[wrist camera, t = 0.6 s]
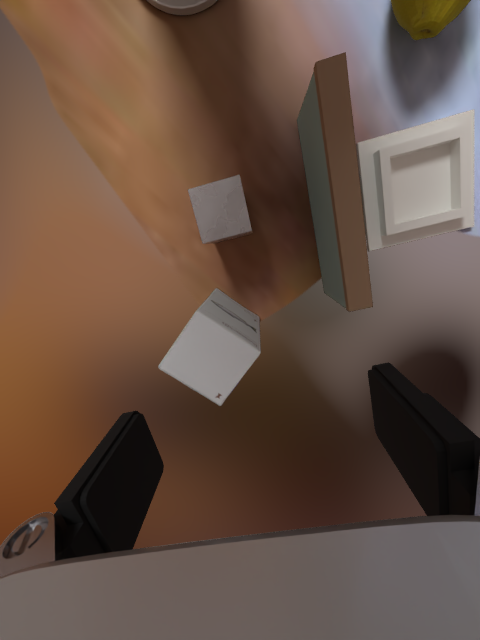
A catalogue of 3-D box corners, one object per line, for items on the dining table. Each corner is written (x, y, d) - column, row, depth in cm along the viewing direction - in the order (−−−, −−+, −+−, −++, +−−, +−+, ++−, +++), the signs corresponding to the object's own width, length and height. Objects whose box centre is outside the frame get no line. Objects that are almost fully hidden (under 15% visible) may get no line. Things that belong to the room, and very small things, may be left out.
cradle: (356, 144, 29) (363, 137, 27) (470, 111, 28) (486, 101, 26) (367, 251, 32) (374, 251, 31) (470, 226, 31) (484, 225, 29)
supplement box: (261, 316, 36) (264, 354, 24) (231, 356, 38) (220, 410, 26) (216, 285, 35) (196, 308, 23) (188, 328, 37) (155, 369, 25)
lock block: (203, 202, 32) (187, 189, 24) (243, 191, 31) (239, 174, 24) (214, 243, 33) (202, 243, 26) (252, 233, 33) (252, 230, 25)
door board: (296, 120, 29) (315, 61, 20) (315, 114, 29) (345, 52, 19) (323, 292, 34) (349, 311, 25) (340, 289, 34) (372, 306, 25)
